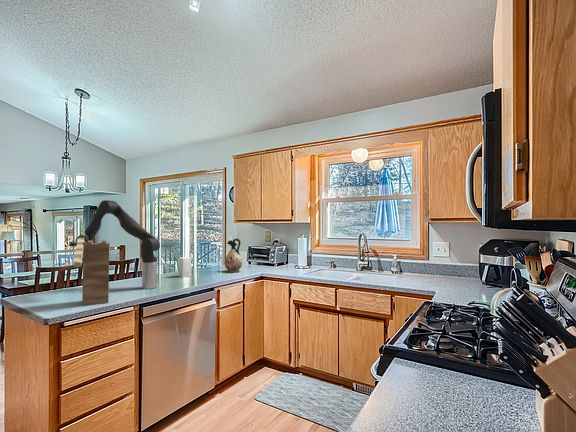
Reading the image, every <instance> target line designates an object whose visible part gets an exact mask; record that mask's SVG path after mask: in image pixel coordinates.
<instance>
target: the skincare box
mask: <svg viewBox="0 0 576 432" xmlns="http://www.w3.org/2000/svg"><path fill="white" fill-rule="evenodd" d="M178 277H180V278H187V277H192V256H191V257H190V256H183V257H178Z"/></svg>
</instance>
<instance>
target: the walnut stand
mask: <svg viewBox="0 0 576 432" xmlns="http://www.w3.org/2000/svg"><path fill="white" fill-rule="evenodd" d="M109 280H110V242H107V239H105V240H104V239H103V240H101V242H94V240H92V241H88V242H87V243H85V244H84V245H83V256H82V294H81V295H82V297H81V299H82V301H81V302H82V303H81V306H89V305H92V306H93V305H100V304H109V298H110V297H109V288H110V286H109V285H110V281H109Z"/></svg>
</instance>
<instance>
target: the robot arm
mask: <svg viewBox="0 0 576 432" xmlns="http://www.w3.org/2000/svg"><path fill="white" fill-rule="evenodd" d="M106 214H107V215H108V214H109V215H110V214H111V215H113V216H114V217H115V218H117V219H118V222H119V225H120V227H121V228H122V230H124V231H125V232H126V233H127V234H129V235H130V236H132V237H134V238H135V239H139V240H140V241H141V244H140V255H141V256H140V257H141V261H142V262H141V263H142V264H141V270H142V273H141V274H142V275H141V276H142V277H141V289H146V290H147V289H150V290H151V289H157V288H158V279H159V278H158V257H157V256H155V254H154V252H156V251H158V250H159V249H160V247H161V243H160V241H159V239H158V238H157V237H155V236H154V235H152V234H151V233H150V232H148V231H147V230H146V229H145V228H144V227H143V226H141V225H140V224H139V223H138V222H137V221H136V220H135V219H134V218H133V217H131V216H130V215H129V214H128V213H127V212H126V211H125V210H124V209H123V208H122V207H121V205H119V204H118V202H116V201H114V200H111V199H110V200H108V199H107V200H106V199H105V200H102V201H101V202H100V203H99V204H98V206H97V208H96V211H95V213H94V215H93V218H92V220H91V221H90V222H89V225H88V226H87V227H86V229H85V230H84V234H85V235H86V236H85V235H84V234H79V235H78V236H77V237H76V238H75V241H69V242H68V246H69V247H75V248H76V245H77V239H78V238H84V243H83V245H84V244H85V243H87V242H88V241H92V240H93V241H94V240H95V237H96V235H97V234H98V232H99V231H100V229H101V228H102V227H101V226H102V220H103V219H104V217H105V215H106Z"/></svg>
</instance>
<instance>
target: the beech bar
mask: <svg viewBox="0 0 576 432" xmlns="http://www.w3.org/2000/svg"><path fill="white" fill-rule="evenodd" d="M83 243H84V238H78V239H77V245H76V247H75V252H74V258H73V268H82V264H83Z"/></svg>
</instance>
